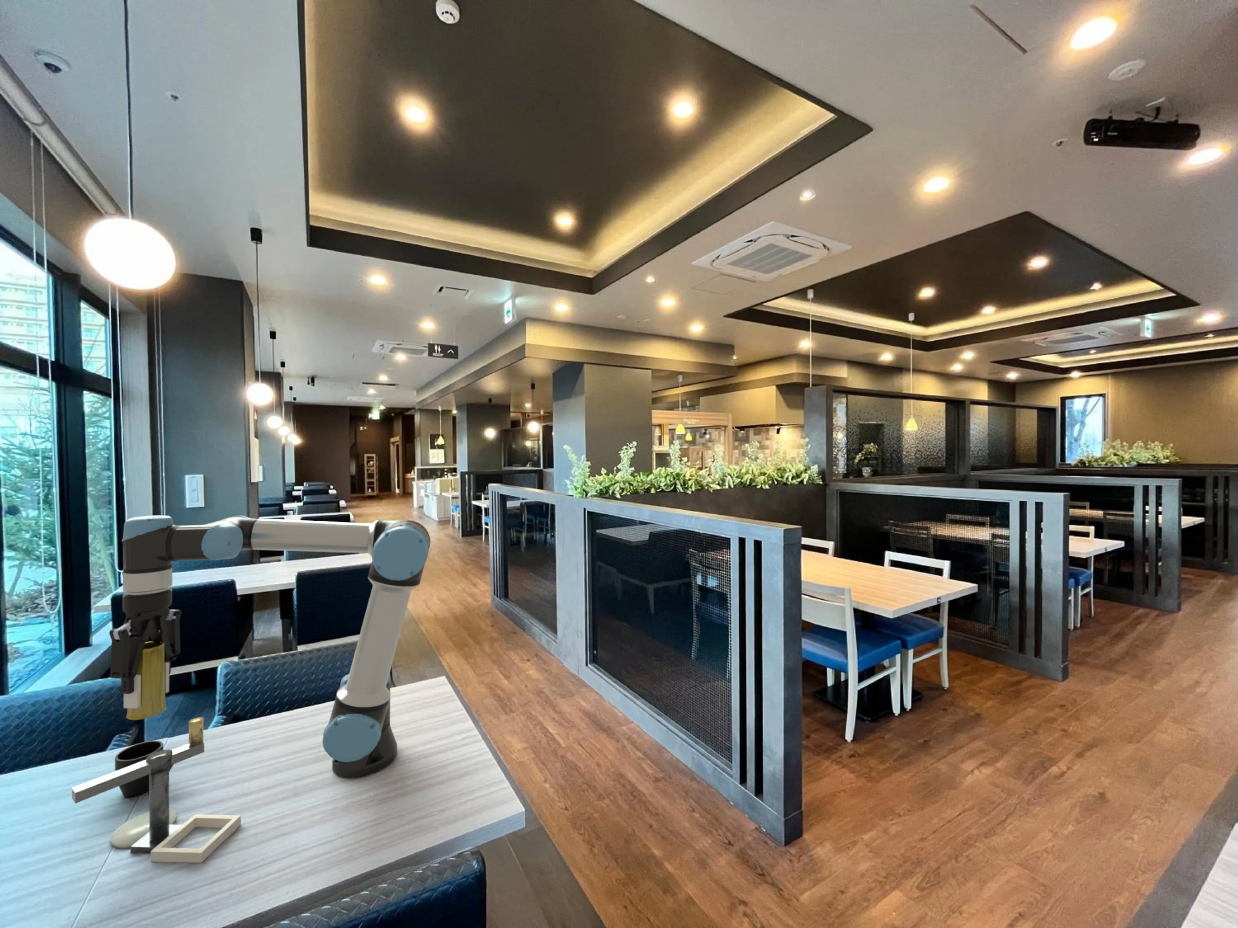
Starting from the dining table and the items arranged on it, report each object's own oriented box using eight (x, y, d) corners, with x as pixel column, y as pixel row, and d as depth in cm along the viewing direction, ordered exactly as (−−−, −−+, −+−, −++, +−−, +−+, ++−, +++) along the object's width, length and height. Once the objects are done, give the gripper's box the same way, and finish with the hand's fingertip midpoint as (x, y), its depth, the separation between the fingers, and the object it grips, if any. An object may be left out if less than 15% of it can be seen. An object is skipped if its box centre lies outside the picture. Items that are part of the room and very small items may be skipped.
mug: (157, 802, 113) (157, 761, 113) (104, 801, 113) (104, 760, 112) (188, 778, 121) (188, 740, 121) (138, 778, 121) (138, 739, 121)
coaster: (188, 812, 110) (188, 809, 110) (145, 848, 100) (145, 844, 100) (144, 811, 110) (144, 808, 110) (96, 847, 100) (96, 843, 100)
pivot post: (186, 830, 105) (186, 759, 104) (160, 853, 99) (160, 778, 98) (158, 829, 105) (158, 758, 104) (130, 852, 99) (130, 777, 98)
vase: (143, 705, 107) (144, 640, 106) (174, 704, 107) (174, 639, 107) (117, 720, 101) (118, 651, 100) (150, 719, 101) (151, 650, 101)
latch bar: (76, 804, 90) (76, 767, 90) (70, 796, 92) (70, 759, 92) (206, 752, 106) (206, 720, 106) (199, 746, 109) (199, 714, 108)
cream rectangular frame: (240, 824, 107) (240, 815, 107) (201, 862, 97) (201, 852, 97) (194, 823, 107) (194, 814, 107) (150, 861, 97) (150, 851, 97)
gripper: (170, 578, 113) (169, 678, 113) (81, 602, 94) (80, 723, 94) (203, 579, 113) (202, 679, 113) (121, 603, 94) (120, 723, 94)
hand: (147, 699), depth 104 cm, fingers closed on vase, 6 cm apart
